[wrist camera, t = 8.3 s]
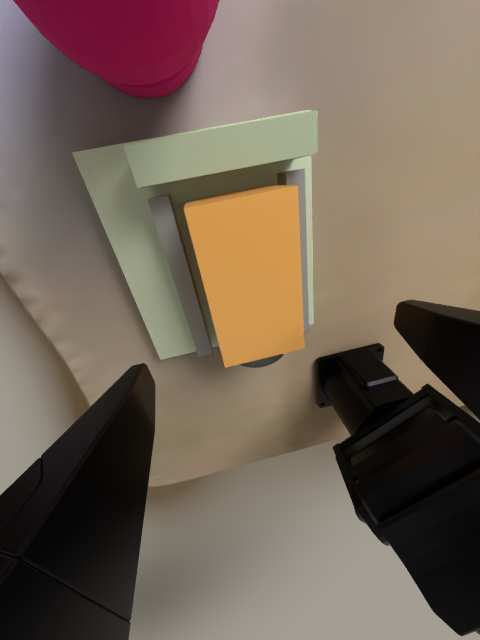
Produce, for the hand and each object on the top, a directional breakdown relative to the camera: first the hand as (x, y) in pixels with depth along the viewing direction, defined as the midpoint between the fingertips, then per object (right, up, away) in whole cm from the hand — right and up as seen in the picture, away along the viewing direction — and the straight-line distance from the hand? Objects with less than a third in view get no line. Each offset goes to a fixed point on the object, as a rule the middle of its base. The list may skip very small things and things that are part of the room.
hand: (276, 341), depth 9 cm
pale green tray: (-3, +5, +8) cm, 10 cm away
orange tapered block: (-1, +4, +7) cm, 9 cm away
